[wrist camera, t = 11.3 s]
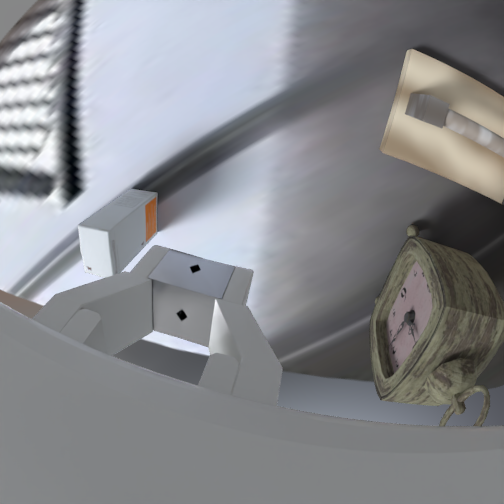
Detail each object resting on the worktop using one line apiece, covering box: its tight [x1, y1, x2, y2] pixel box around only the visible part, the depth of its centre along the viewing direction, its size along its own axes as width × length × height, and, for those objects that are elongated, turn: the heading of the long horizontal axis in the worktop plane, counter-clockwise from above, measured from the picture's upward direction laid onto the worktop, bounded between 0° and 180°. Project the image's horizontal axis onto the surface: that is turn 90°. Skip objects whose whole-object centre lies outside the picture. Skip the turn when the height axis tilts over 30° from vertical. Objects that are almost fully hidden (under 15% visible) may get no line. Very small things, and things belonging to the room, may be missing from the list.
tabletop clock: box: [369, 225, 504, 426], centre depth 27 cm, size 14×9×25 cm, turn 170°
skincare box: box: [78, 189, 158, 278], centre depth 36 cm, size 6×4×12 cm
